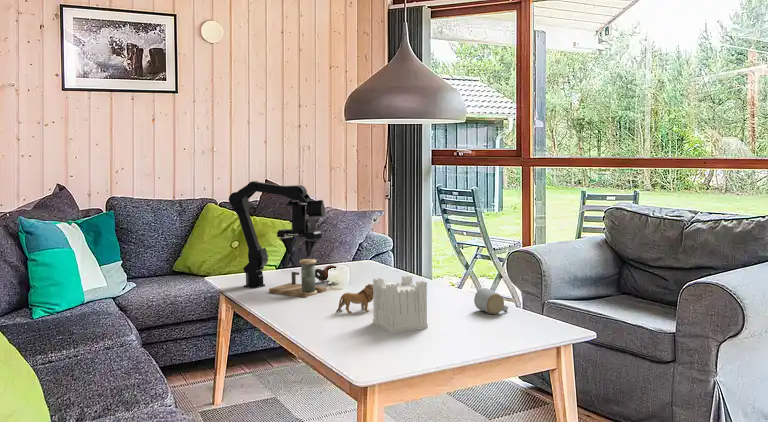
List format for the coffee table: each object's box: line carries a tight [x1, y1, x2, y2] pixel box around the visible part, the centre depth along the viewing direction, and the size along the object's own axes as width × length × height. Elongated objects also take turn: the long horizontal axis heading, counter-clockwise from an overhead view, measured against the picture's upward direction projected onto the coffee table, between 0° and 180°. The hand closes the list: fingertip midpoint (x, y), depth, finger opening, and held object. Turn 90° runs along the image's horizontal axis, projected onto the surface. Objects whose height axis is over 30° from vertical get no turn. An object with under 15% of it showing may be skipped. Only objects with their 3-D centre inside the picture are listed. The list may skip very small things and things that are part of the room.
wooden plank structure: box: [268, 271, 327, 298], centre depth 258 cm, size 18×13×6 cm
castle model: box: [372, 274, 429, 334], centre depth 207 cm, size 13×15×14 cm
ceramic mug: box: [473, 287, 509, 315], centre depth 223 cm, size 11×8×8 cm
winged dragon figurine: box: [315, 265, 337, 285], centre depth 275 cm, size 12×10×8 cm
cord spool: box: [299, 258, 318, 297], centre depth 254 cm, size 6×6×13 cm
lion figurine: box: [335, 283, 373, 314], centre depth 225 cm, size 15×5×9 cm, turn 115°
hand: (299, 255), depth 264 cm, fingers open, 9 cm apart
